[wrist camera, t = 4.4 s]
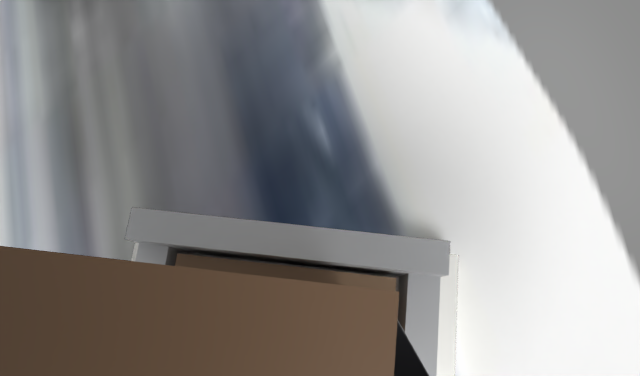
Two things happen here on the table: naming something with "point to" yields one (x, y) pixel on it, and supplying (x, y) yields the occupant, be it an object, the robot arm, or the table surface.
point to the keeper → (190, 318)
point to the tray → (323, 264)
